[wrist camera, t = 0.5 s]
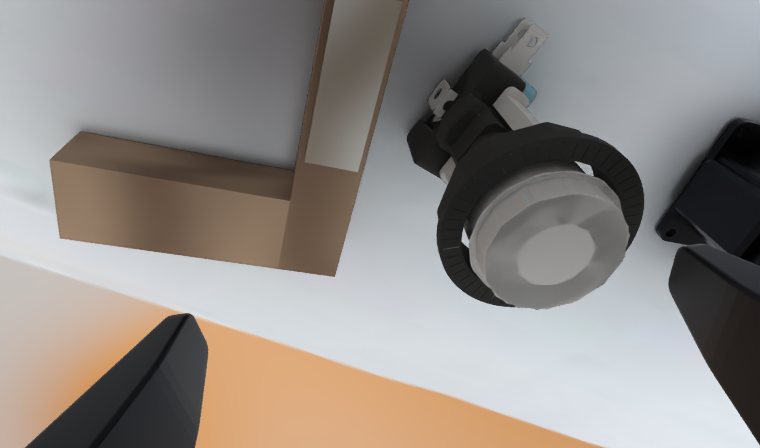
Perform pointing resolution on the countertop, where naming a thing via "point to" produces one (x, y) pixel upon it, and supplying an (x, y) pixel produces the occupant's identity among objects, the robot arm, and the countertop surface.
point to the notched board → (245, 168)
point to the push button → (522, 188)
